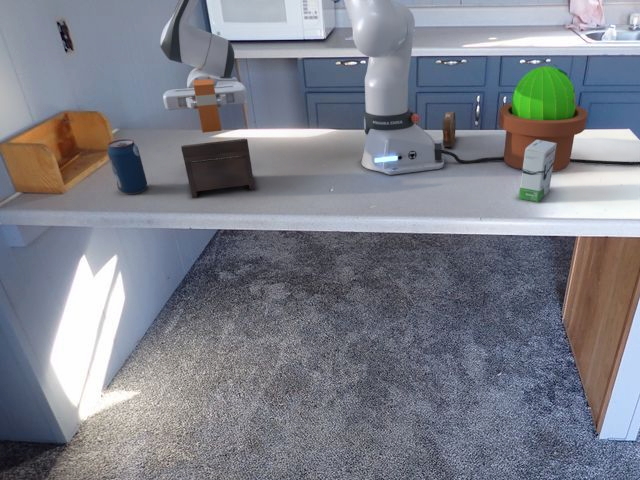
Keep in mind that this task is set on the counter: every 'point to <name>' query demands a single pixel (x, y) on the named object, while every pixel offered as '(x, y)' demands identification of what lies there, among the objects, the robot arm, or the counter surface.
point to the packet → (207, 105)
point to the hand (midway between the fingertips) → (207, 104)
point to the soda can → (127, 166)
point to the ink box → (537, 170)
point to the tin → (449, 129)
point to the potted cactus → (542, 116)
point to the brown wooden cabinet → (218, 165)
